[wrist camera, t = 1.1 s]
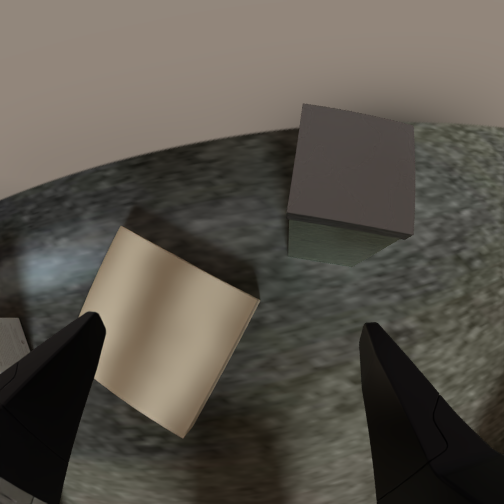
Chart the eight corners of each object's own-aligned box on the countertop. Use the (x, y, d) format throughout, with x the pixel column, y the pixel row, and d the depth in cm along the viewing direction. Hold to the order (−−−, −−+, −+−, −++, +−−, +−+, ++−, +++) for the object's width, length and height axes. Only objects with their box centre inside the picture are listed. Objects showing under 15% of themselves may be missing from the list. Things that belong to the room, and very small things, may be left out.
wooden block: (260, 300, 24) (257, 299, 21) (194, 425, 23) (183, 438, 20) (137, 233, 26) (120, 225, 23) (84, 350, 25) (64, 353, 22)
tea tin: (360, 204, 24) (413, 125, 12) (353, 268, 23) (413, 234, 11) (296, 193, 24) (302, 103, 13) (286, 257, 24) (286, 212, 12)
